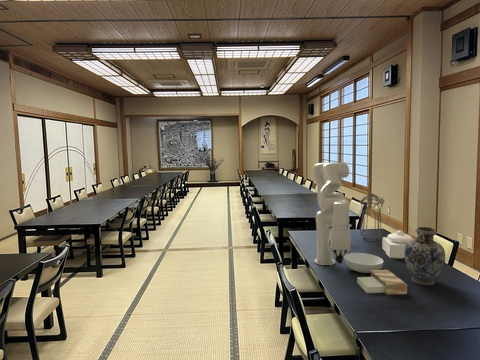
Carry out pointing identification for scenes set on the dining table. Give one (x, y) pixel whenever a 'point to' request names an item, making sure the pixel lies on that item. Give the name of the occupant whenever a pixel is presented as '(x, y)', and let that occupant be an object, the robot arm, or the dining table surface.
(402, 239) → the butter dish
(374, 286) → the pale green flat slab
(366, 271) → the serving bowl
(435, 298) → the dining table surface
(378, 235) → the geometric lantern
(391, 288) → the overhang
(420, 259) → the decorative vase
